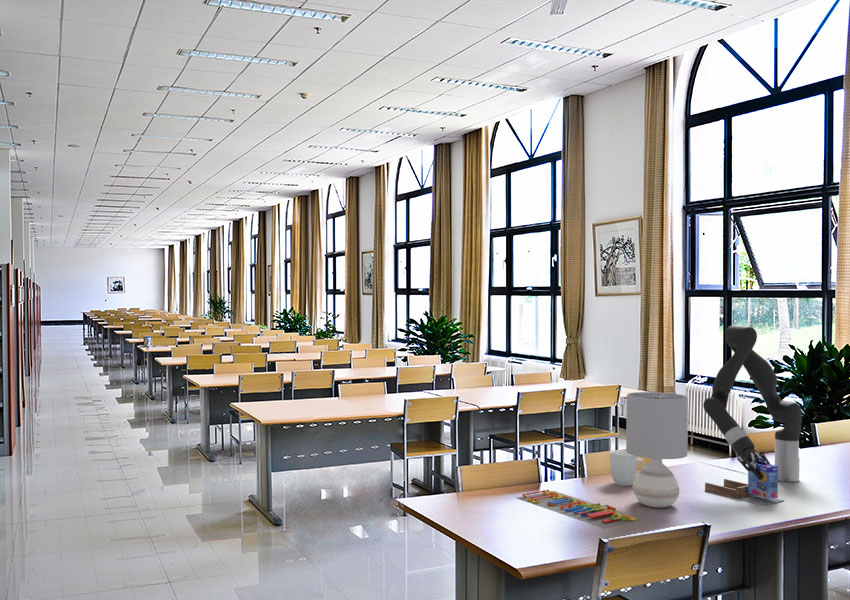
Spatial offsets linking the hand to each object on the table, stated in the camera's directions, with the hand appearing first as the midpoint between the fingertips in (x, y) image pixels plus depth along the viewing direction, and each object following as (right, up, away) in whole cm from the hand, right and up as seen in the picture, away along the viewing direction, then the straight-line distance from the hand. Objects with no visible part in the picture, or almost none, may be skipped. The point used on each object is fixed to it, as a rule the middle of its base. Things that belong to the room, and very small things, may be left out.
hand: (766, 477), depth 289 cm
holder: (-8, -9, +14) cm, 19 cm away
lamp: (-44, -9, -6) cm, 45 cm away
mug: (-47, -9, +25) cm, 54 cm away
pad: (-1, -9, +1) cm, 9 cm away
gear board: (-74, -9, -12) cm, 76 cm away
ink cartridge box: (-1, -8, +2) cm, 8 cm away
